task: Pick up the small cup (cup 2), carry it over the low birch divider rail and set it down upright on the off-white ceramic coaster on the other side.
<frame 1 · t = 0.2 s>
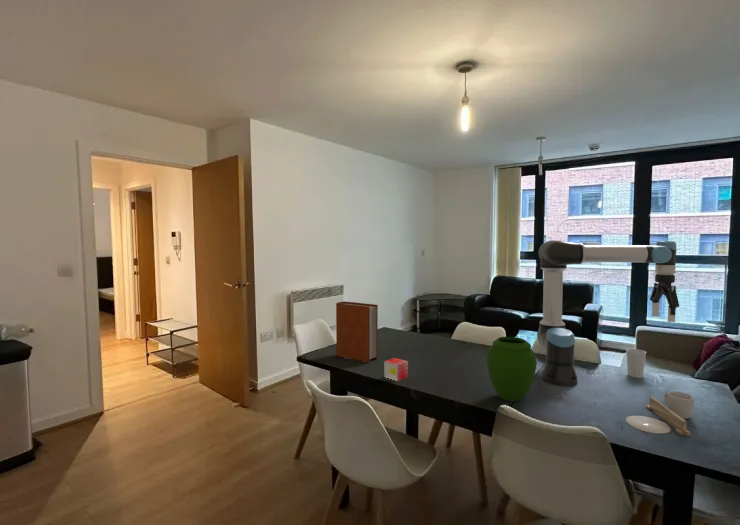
hand: (663, 319, 189), 28 cm above the table, fingers open, 13 cm apart
divider rail: (666, 420, 145), on the table
vase: (510, 398, 165), on the table
cup 2: (676, 415, 150), on the table
coaster: (647, 424, 142), on the table
book: (356, 358, 222), on the table
cup: (635, 376, 193), on the table
puzzle cube: (396, 378, 190), on the table
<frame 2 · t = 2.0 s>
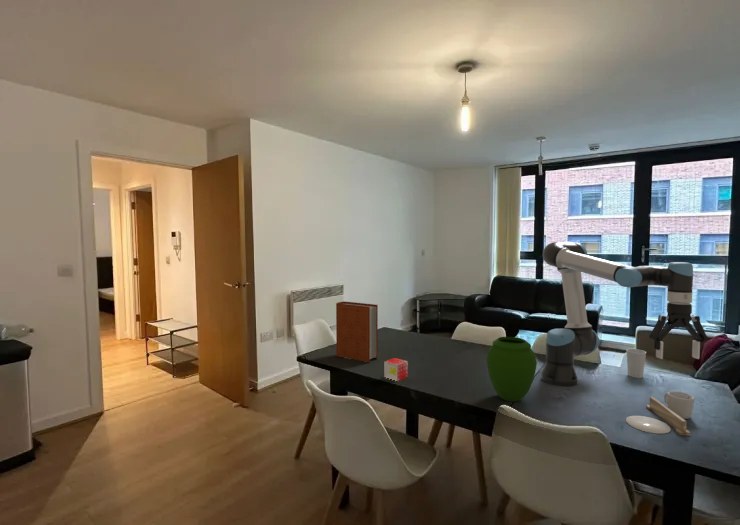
hand: (677, 358, 154), 20 cm above the table, fingers open, 13 cm apart
nothing on the table moved.
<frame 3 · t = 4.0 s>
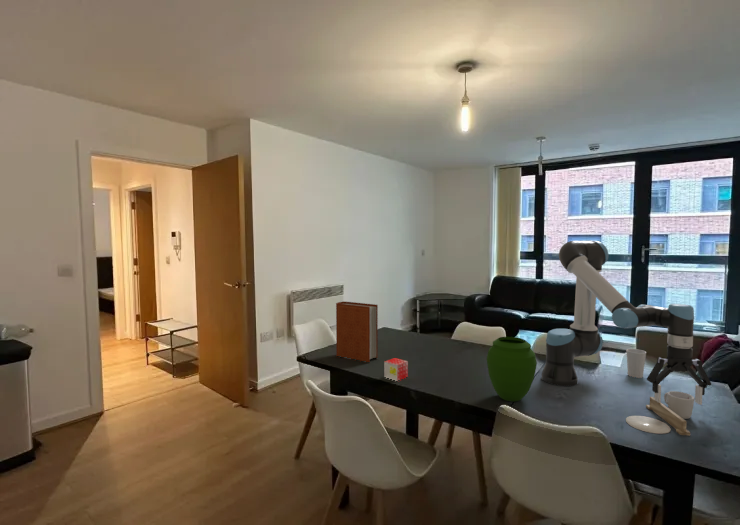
hand: (677, 402, 150), 5 cm above the table, fingers open, 13 cm apart
nothing on the table moved.
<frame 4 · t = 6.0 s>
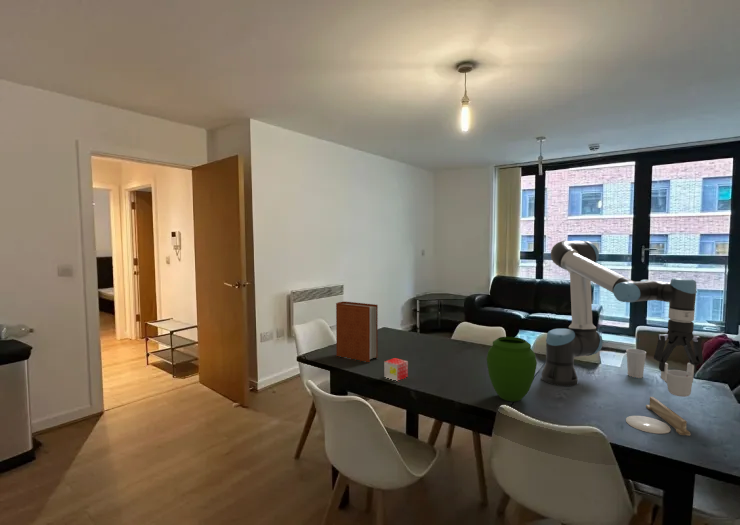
hand: (676, 380, 150), 13 cm above the table, fingers closed on cup 2, 8 cm apart
cup 2: (676, 393, 150), point 8 cm above the table, touching gripper
everything else where it was.
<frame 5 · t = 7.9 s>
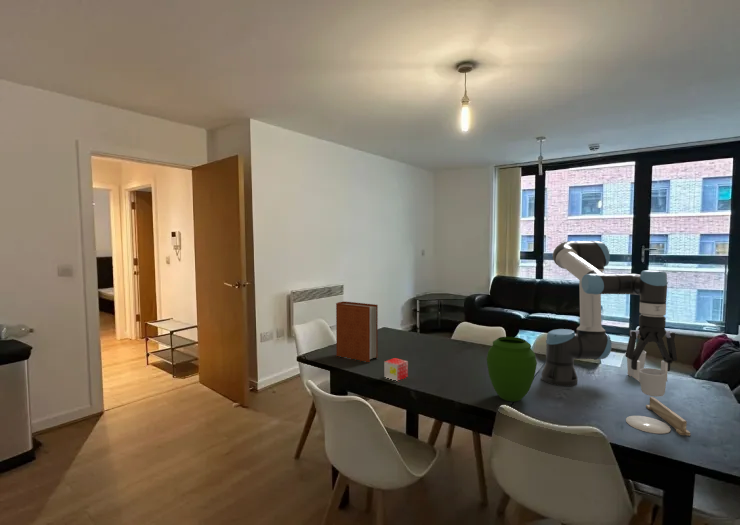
hand: (650, 379, 141), 16 cm above the table, fingers closed on cup 2, 8 cm apart
cup 2: (650, 393, 141), point 11 cm above the table, touching gripper
everything else where it was.
when the fingers open (5 cm above the table, at t = 10.1 s): cup 2 stays where it is, resting on coaster.
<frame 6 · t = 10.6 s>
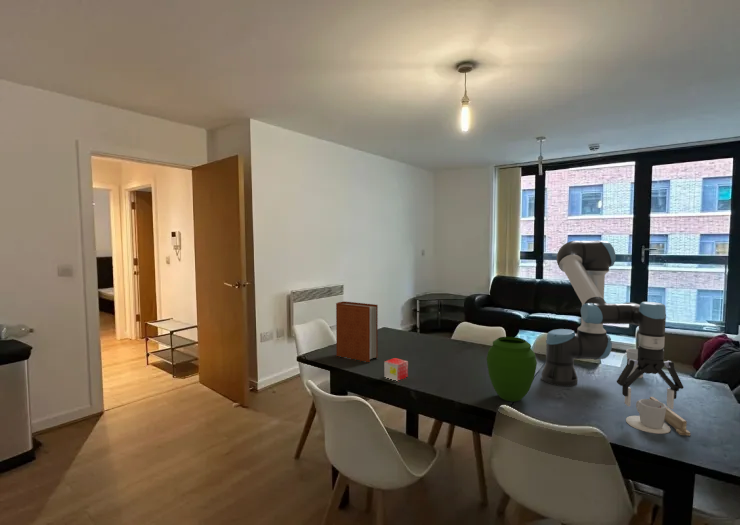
hand: (648, 406, 141), 7 cm above the table, fingers open, 13 cm apart
cup 2: (648, 424, 142), resting on coaster
everything else where it was.
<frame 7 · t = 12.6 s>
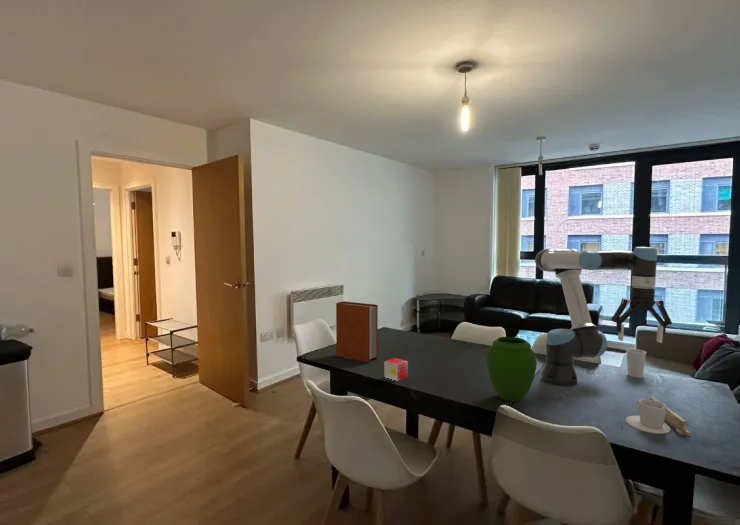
hand: (639, 341, 157), 26 cm above the table, fingers open, 13 cm apart
nothing on the table moved.
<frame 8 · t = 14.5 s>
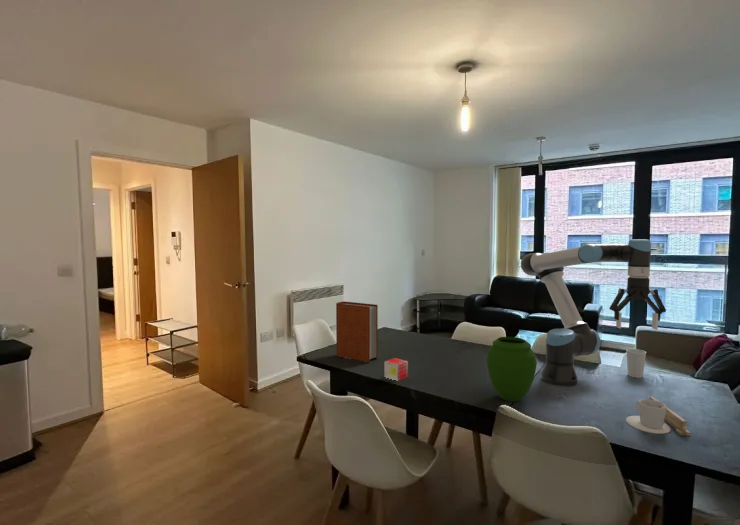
hand: (636, 328, 165), 29 cm above the table, fingers open, 13 cm apart
nothing on the table moved.
at the end: cup 2 0.2 cm from the coaster (horizontally); cup 2 tilted 0°; cup 2 resting on coaster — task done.
